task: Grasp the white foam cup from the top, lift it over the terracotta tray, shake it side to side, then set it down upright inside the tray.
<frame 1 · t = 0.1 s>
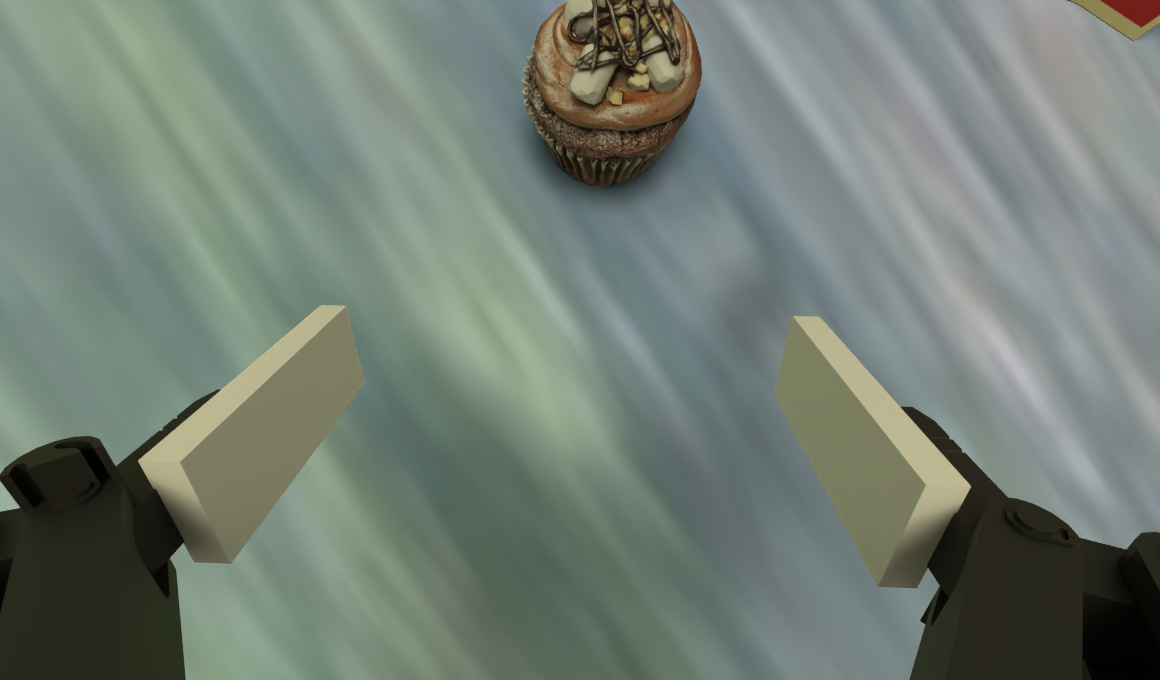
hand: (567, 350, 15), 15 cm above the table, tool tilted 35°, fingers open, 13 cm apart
cupcake: (605, 131, 32), on the table
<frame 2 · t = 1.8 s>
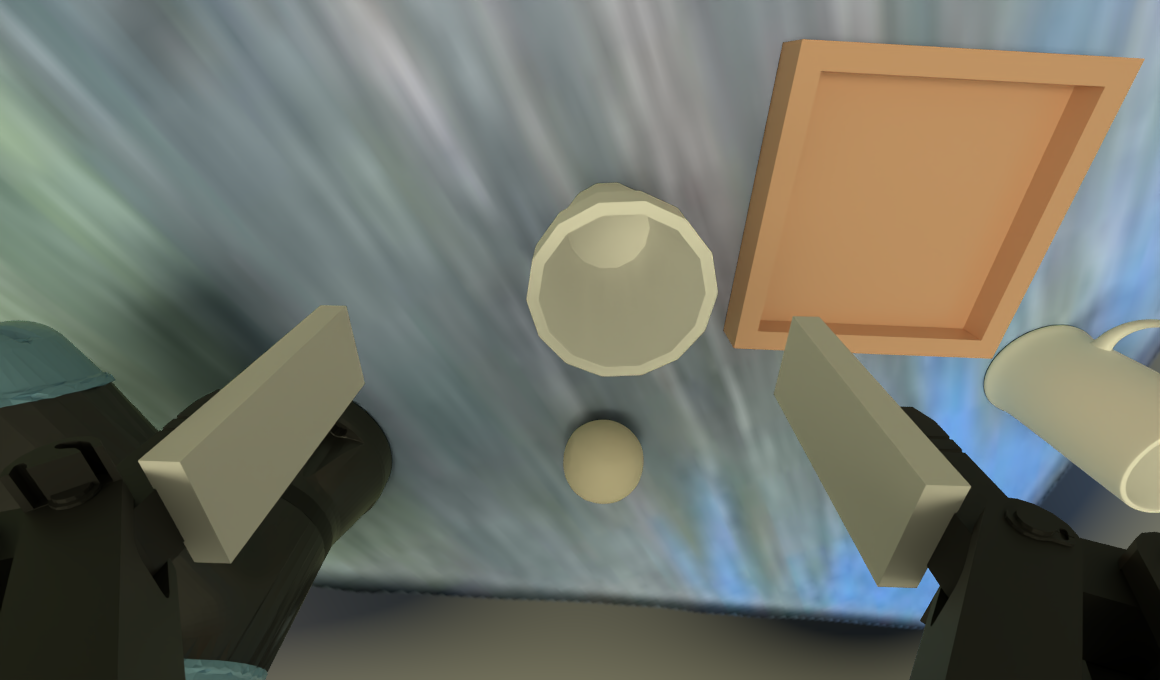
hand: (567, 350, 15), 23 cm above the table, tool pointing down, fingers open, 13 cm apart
beige ball: (600, 436, 45), on the table
foam cup: (607, 226, 36), on the table
tray: (886, 212, 35), on the table
mug: (1046, 351, 41), on the table
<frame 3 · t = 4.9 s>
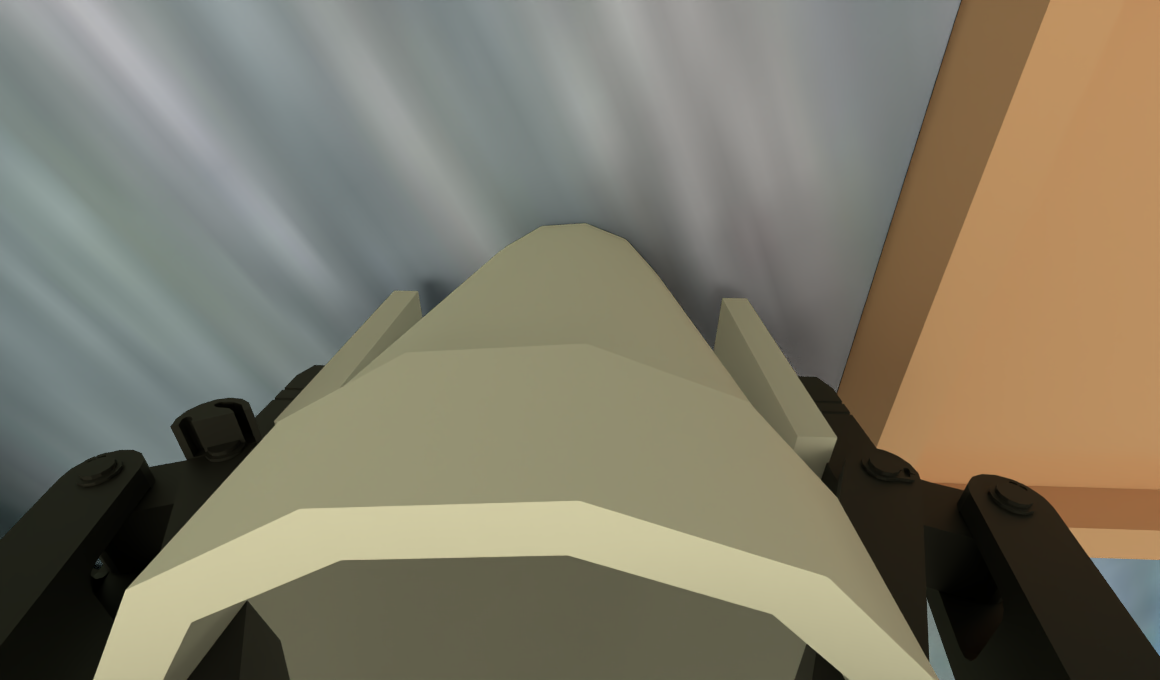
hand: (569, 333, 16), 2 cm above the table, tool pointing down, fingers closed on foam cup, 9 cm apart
foam cup: (571, 309, 17), on the table, touching gripper
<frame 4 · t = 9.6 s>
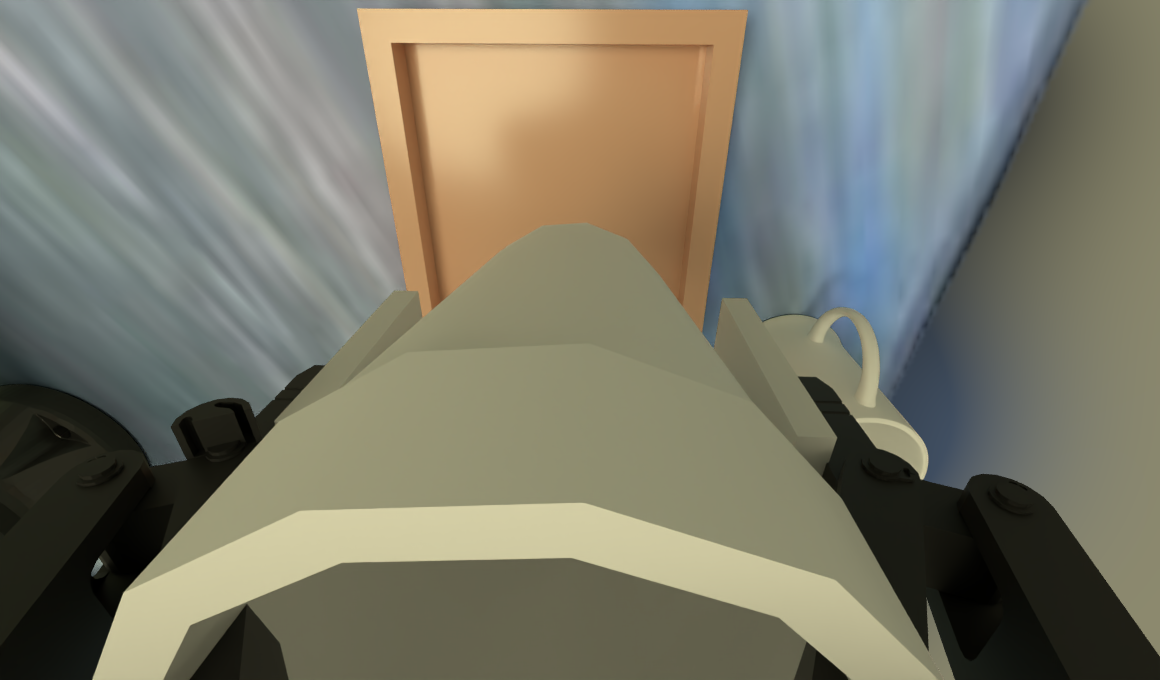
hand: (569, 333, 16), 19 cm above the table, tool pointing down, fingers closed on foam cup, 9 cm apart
foam cup: (572, 309, 17), point 17 cm above the table, touching gripper
tray: (557, 195, 33), on the table
mug: (790, 344, 37), on the table
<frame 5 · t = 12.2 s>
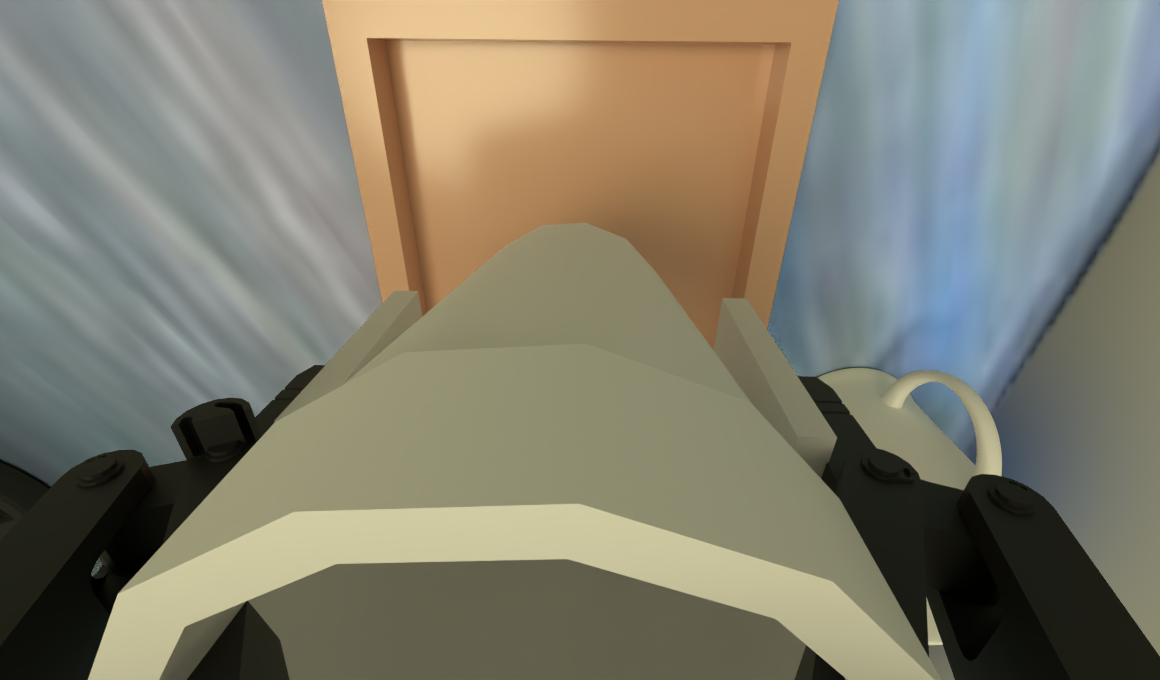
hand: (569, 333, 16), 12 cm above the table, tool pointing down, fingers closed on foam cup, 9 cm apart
foam cup: (571, 309, 17), point 10 cm above the table, touching gripper
tray: (577, 228, 26), on the table
mug: (851, 400, 32), on the table
when the fingers open (4 cm above the table, at t = 14.6 s): foam cup drops 1 cm, resting on tray.
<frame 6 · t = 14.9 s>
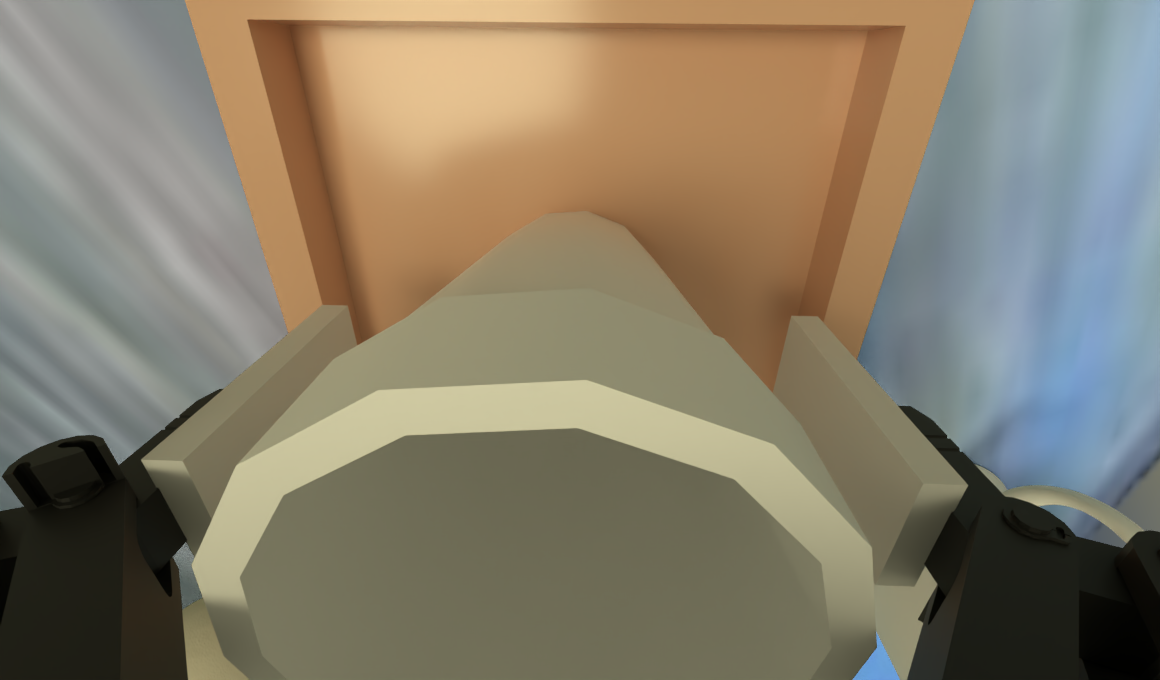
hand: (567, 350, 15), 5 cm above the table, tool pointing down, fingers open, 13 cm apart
beige ball: (262, 600, 30), on the table
foam cup: (573, 292, 19), point 1 cm above the table, touching tray
tray: (574, 284, 19), on the table
mug: (927, 494, 24), on the table
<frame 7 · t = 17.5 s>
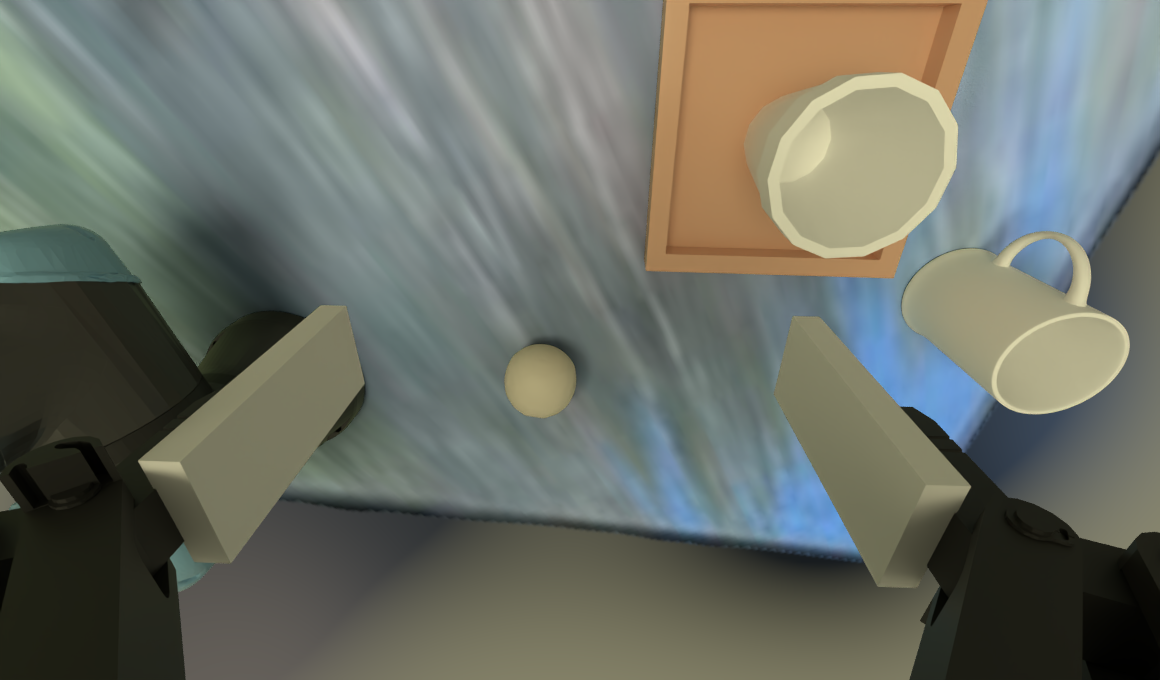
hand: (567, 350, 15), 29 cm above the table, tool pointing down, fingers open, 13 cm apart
beige ball: (545, 363, 50), on the table
foam cup: (785, 140, 38), point 1 cm above the table, touching tray
tray: (782, 139, 38), on the table
mug: (961, 276, 43), on the table
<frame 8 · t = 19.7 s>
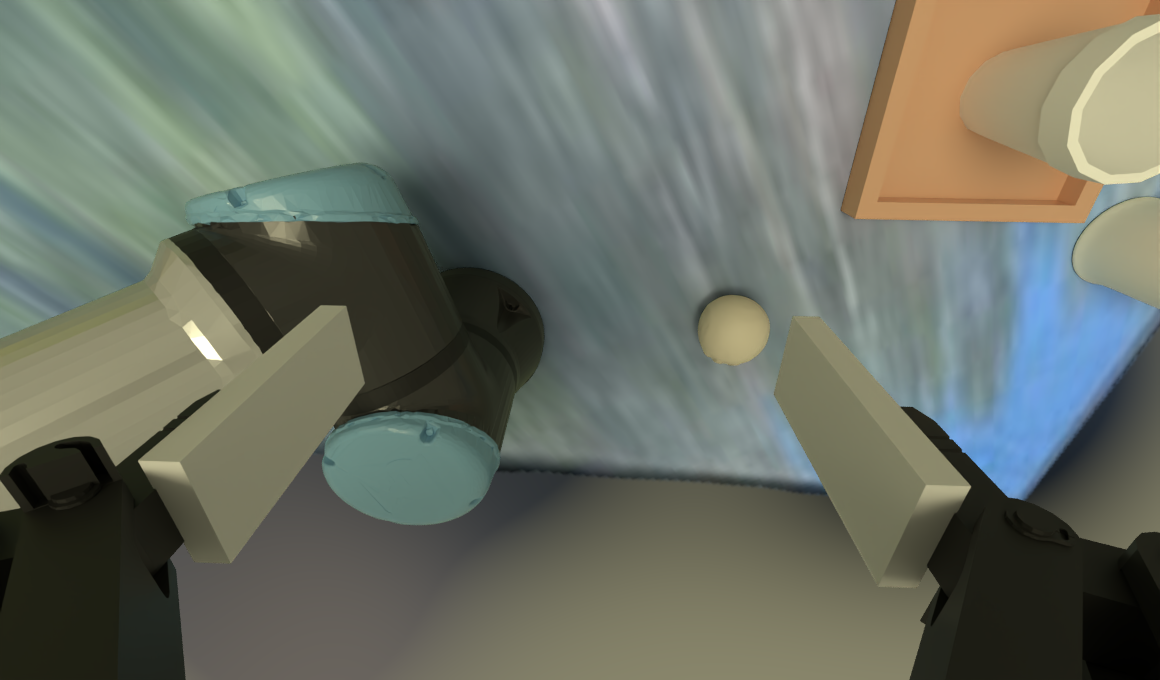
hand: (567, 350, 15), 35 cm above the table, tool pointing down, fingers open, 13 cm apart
beige ball: (724, 316, 53), on the table
foam cup: (998, 93, 41), point 1 cm above the table, touching tray
tray: (991, 93, 42), on the table
mug: (1131, 224, 47), on the table
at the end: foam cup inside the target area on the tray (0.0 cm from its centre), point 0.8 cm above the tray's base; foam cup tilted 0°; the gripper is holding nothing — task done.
